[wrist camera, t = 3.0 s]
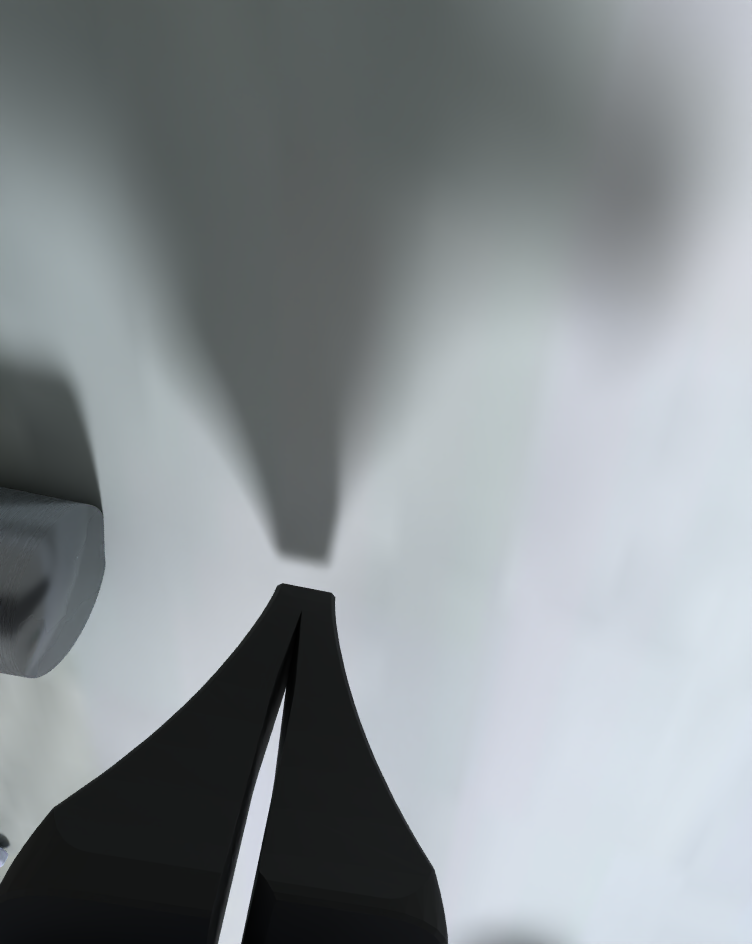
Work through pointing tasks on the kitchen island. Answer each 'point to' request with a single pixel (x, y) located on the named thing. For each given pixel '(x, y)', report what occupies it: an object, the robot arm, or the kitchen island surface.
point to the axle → (46, 578)
